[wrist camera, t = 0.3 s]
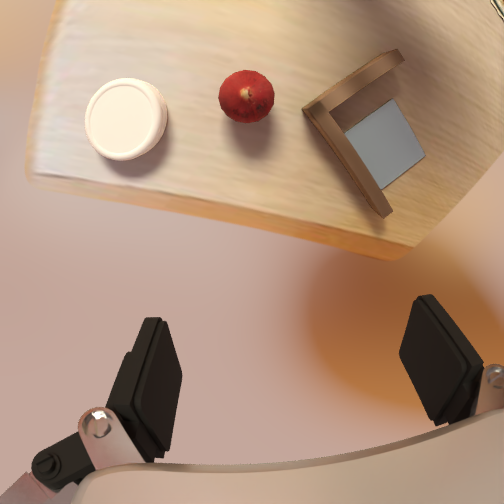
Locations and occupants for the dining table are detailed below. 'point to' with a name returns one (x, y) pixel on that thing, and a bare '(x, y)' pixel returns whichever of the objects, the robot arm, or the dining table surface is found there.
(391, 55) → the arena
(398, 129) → the pad
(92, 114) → the coaster
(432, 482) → the robot arm
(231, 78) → the onion
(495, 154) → the dining table surface
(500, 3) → the decorative vase
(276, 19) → the dining table surface
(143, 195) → the dining table surface
